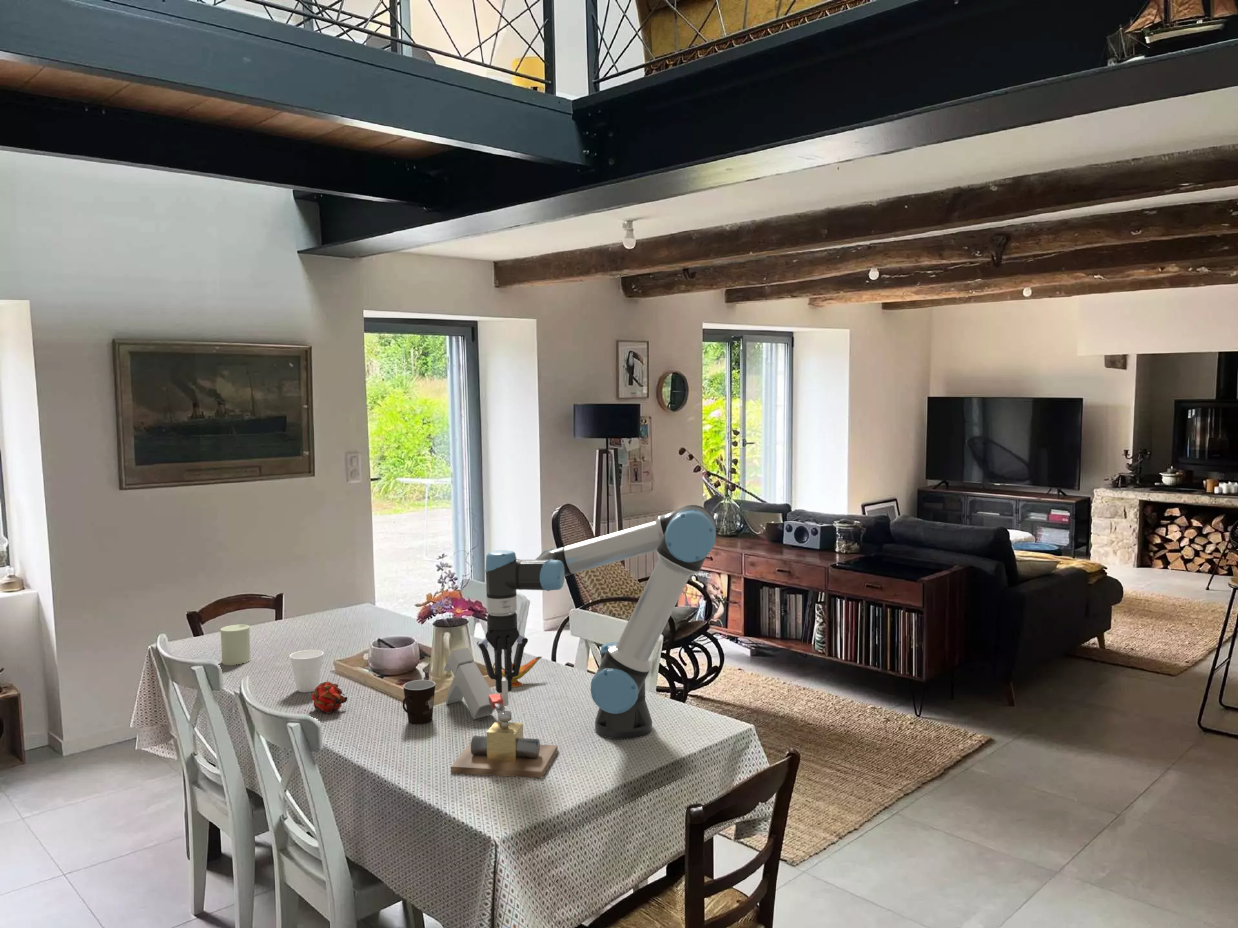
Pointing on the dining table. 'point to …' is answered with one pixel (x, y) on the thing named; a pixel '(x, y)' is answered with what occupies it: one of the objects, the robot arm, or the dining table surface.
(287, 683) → the dining table surface
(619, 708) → the robot arm
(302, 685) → the cup
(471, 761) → the valve board
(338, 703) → the dragon fruit
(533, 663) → the magic lamp
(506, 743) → the ball valve
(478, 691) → the grey a-frame
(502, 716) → the valve lever
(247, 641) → the can
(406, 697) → the coffee mug
